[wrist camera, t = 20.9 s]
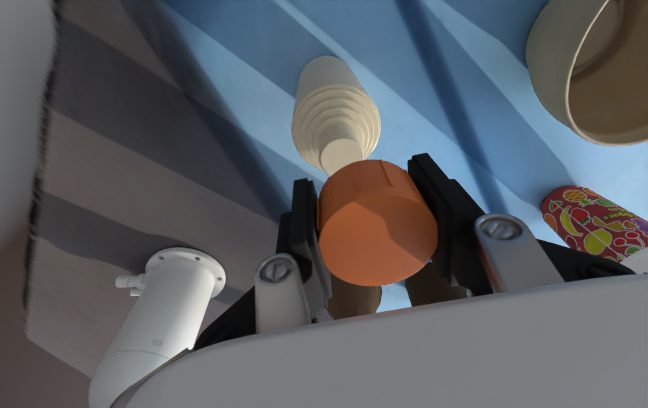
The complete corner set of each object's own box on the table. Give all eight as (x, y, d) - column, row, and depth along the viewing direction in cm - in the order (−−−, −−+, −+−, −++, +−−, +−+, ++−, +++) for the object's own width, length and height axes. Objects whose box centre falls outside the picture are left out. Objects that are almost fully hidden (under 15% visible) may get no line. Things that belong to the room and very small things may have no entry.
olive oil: (397, 267, 49) (460, 452, 29) (459, 252, 48) (572, 436, 27) (405, 302, 55) (462, 476, 34) (460, 290, 53) (554, 465, 33)
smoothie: (604, 183, 41) (803, 301, 24) (563, 226, 45) (707, 350, 29) (556, 172, 39) (734, 289, 23) (519, 218, 44) (645, 343, 27)
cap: (436, 181, 11) (465, 220, 9) (384, 251, 13) (397, 297, 11) (344, 141, 10) (352, 174, 8) (303, 224, 12) (300, 268, 10)
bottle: (298, 114, 33) (288, 203, 18) (297, 54, 29) (284, 101, 14) (351, 116, 33) (386, 204, 18) (357, 56, 30) (407, 104, 15)
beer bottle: (316, 199, 40) (322, 383, 20) (369, 201, 41) (425, 381, 21) (313, 240, 45) (316, 422, 25) (361, 241, 45) (401, 420, 25)
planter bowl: (490, 128, 35) (551, 169, 26) (495, -32, 26) (591, -53, 17) (631, 86, 33) (752, 114, 24) (690, -105, 24) (918, -174, 15)
